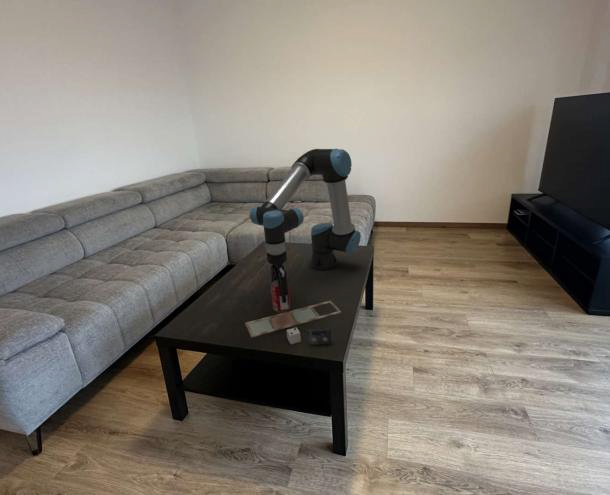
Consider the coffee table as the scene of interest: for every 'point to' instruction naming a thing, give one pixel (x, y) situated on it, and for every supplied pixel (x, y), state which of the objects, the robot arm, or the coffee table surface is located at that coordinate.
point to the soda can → (278, 297)
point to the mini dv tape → (319, 336)
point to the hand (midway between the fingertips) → (281, 304)
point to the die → (293, 335)
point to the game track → (286, 320)
